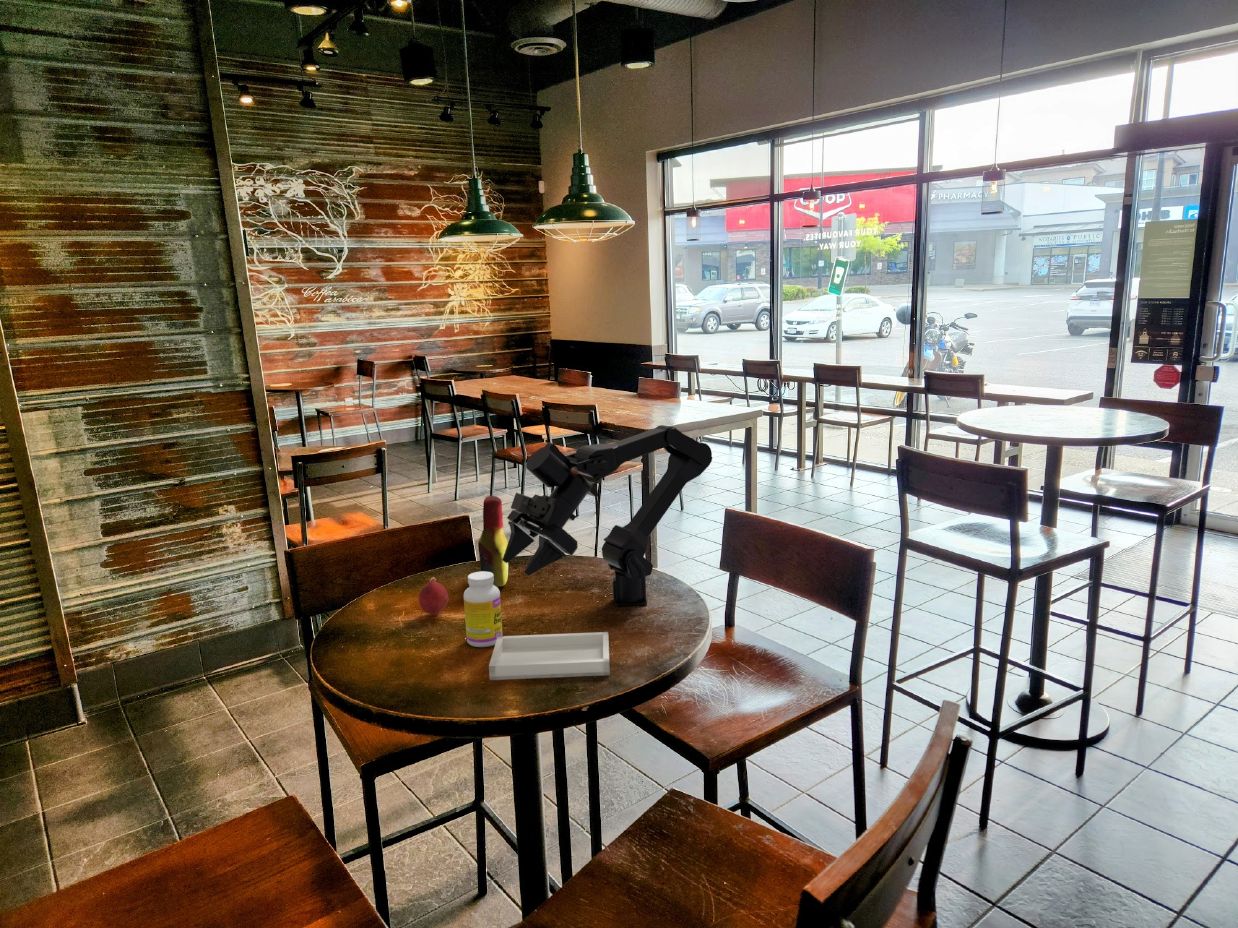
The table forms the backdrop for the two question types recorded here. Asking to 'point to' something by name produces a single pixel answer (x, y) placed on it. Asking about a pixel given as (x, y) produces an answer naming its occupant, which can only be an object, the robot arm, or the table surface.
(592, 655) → the tray
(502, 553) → the bottle
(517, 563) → the table surface
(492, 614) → the supplement bottle
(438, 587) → the onion
